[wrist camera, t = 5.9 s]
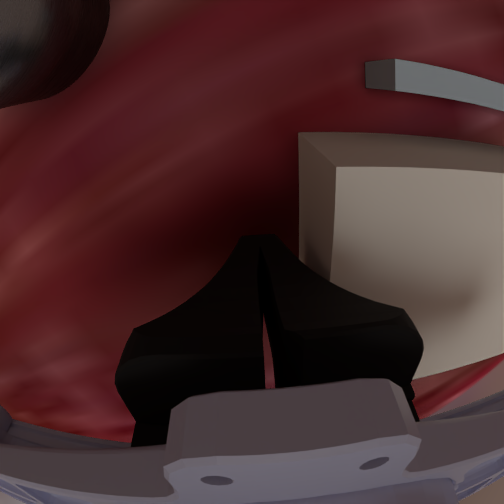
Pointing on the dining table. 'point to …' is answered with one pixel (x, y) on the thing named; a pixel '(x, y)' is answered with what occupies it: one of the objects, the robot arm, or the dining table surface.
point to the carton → (411, 233)
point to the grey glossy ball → (47, 45)
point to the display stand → (433, 82)
